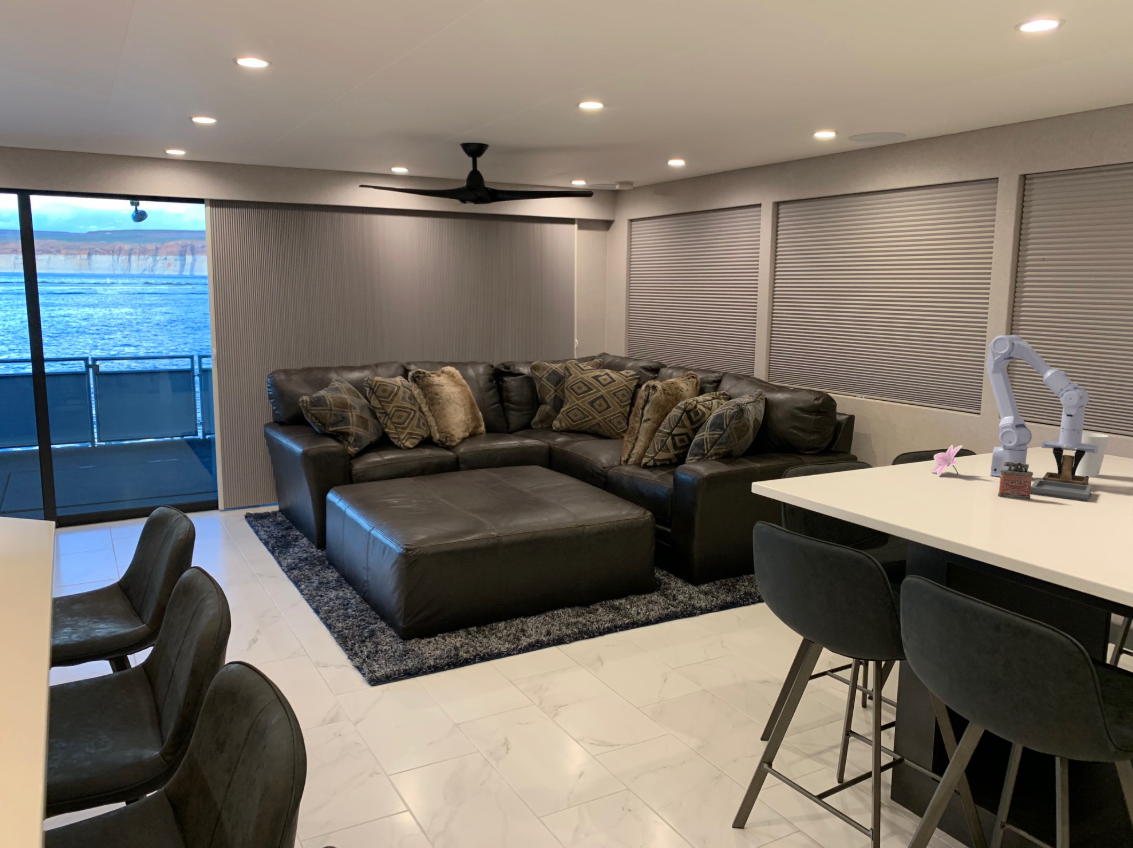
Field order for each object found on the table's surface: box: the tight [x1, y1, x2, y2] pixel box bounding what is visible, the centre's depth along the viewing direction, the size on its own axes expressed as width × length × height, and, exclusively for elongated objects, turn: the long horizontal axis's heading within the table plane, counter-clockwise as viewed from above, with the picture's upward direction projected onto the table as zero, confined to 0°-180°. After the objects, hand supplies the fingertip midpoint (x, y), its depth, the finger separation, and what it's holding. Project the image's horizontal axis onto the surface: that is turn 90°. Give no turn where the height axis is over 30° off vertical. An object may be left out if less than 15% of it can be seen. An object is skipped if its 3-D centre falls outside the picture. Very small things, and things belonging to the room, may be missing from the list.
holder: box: [1042, 471, 1090, 486], centre depth 256 cm, size 11×11×2 cm
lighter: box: [997, 462, 1034, 501], centre depth 238 cm, size 8×3×10 cm, turn 71°
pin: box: [1060, 454, 1075, 480], centre depth 256 cm, size 3×3×9 cm
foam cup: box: [1074, 431, 1110, 478], centre depth 273 cm, size 10×9×13 cm
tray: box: [1030, 478, 1092, 503], centre depth 245 cm, size 14×14×2 cm
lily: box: [930, 444, 963, 477], centre depth 268 cm, size 12×12×10 cm
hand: (1066, 474), depth 256 cm, fingers closed on pin, 3 cm apart
